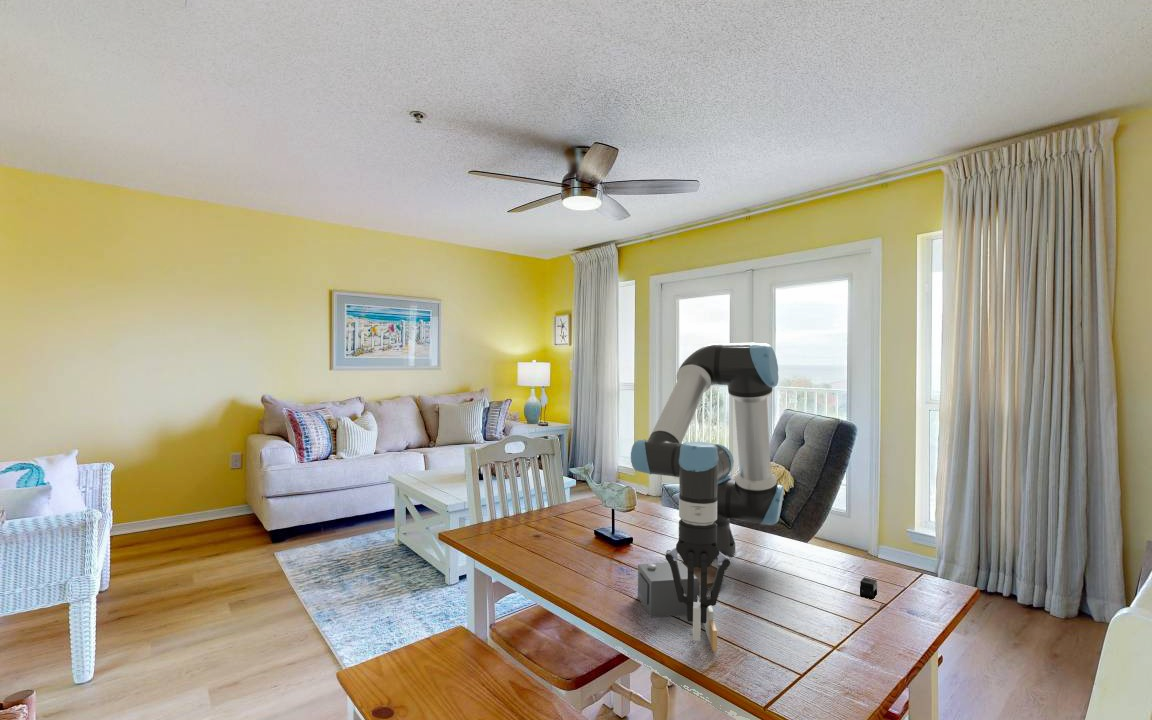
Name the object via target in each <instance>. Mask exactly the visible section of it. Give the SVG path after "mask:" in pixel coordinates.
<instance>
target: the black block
mask: <svg viewBox="0 0 1152 720" xmlns="http://www.w3.org/2000/svg"><path fill="white" fill-rule="evenodd" d="M859 587H860V597H865V598H869V599H874V598H875V596H876V595H877V591H878V579H873V578H869V577H865V576H864V577H862V579H861V581H860V585H859Z"/></svg>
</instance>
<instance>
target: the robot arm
mask: <svg viewBox="0 0 1152 720" xmlns="http://www.w3.org/2000/svg"><path fill="white" fill-rule="evenodd" d="M778 383H779V365H778V360H777V356H776V352H775V350H774V348H773V347H772V345H770V344H768V343H760V342H759V343H758V342H732V343H722V342H719V343H717V342H715V343H710V344H707V345H705V346H702V347H701V348H699V349H697V350H695V351H694V352H692V353H691V354H690V355H689V356H688V357H687V358H686V359H685V360H684V361H682V364H680V366H679V368H678V370H677V372H676V383H675V385H674V387H673V388H672V390H671V393H670V395H669V397H668V399H667V401H666V403H665V405H664V407H663V409H662V411H661V413H660V415H659V417H658V420H657V421H656V422H655V423H656V424H655V426H654V427H653V429H652V432H651V434H650V435H649V437H648V438H647V439H637V440H635V442H634V443H633V444H632V447H631V449H630V450H631V451H630V462H631V466H632V468H633V469H634V470H635V471H636V472H639V473H643V474H648V475H657V476H668V477H676V478H679V486H678V487H679V488H678V489H679V493H678V517H679V520H678V541H677V542H676V544H675V545H676V546H675V547H674V548H673V549H671V550H670V549H667V550H666V551H665V557H664V558H665V559H666V561H667V562H668V563H669V564H670V566H671V571H672V575H673V579H674V584H675V588H676V592H677V597H678V601H679V602H681V603H682V602H683V603H685V604H686V605H687V614H686V619H687V622H690V623H692V641H694V642H701V633H702V632H701V627H702V625H701V624H703V623H706V621H707V607H708V606H711V607H715V606H717V605H716V604H717V602H718V598H719V595H720V591H721V588H722V584H723V580H724V576H725V573H726V570H727V569H728V568H729V567H730V565H731V559H730V557H732V556H734V555H735V554H736V542H735V538H734V536H733V535H734V534H733V533H732V529H731V525H730V523H731V521H730V520H737V521H743V522H749V523H756V524H759V525H769V526H773V525H776V524H777V523H778V522H779V520H780V516H781V511H782V506H783V500H784V492H785V491H784V485H781V484H778V479H777V477H776V475H775V474H773V473H772V472H771V471H772V469H771V451H770V450H771V449H770V432H769V428H770V427H769V412H768V397H769V396H770V395H771V394H772V392H773V388H775V387H776V386H778ZM718 385H719V386H727V391H728V392H727V393H728V394H729V395H730V396H731V397H732V398H733V399H734V410H735V414H734V415H735V424H736V425H735V427H736V441H737V453H738V454H737V456H738V468H739V469H738V470H739V472H738V473H737V474H736V475H735V476H734V479H733V478H732V476H731V474H730V472H732V471H733V467H734V463H735V461H734V456H733V454H732V453H731V451H730V449H728V448H727V447H726V446H725V445H722V444H719V443H715V444H714V443H711V442H705V441H688V442H687V441H686V442H684V443H683V441H684V439H685V436H686V434H687V432H688V429H689V427H690V425H691V423H692V420H693V418H694V415H695V413H696V411H697V409H698V406H699V403H700V401H701V399H702V397H703V395H704V393H707V391H709V389H710V388H711V386H718ZM734 553H735V554H734ZM733 554H734V555H733ZM731 555H732V556H731ZM679 557H680V558H681V559H682V562H685V564H686V565H687V566H688V583H687V595H686V594H684V590H683V586H682V581H681V577H680V572H679V568H678V564H677V562H678V559H679ZM716 559H717V571H716V575H715V579H714V582H713V586H712V588H711V589H710V594H709V596H708V589H707V567H709V566H710V565H712V564H713V563H714V562H715V560H716ZM695 567H698V568H701V599H700V600H701V602H699V601H697V602H693V595H694V568H695Z"/></svg>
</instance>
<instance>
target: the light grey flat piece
mask: <svg viewBox="0 0 1152 720" xmlns="http://www.w3.org/2000/svg"><path fill="white" fill-rule="evenodd" d="M698 599H699V600H698V602H701V600H700V599H701V585H699V595H698ZM702 624H703V627H704V630H705V632H706V636H707V639H708V641H709V644H710V647H711V650H712V652H718V629H717V626H716V624H715V621H714V610H713V606H712V605H711V606H708V607H707V621H706V623H702Z"/></svg>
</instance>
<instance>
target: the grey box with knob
mask: <svg viewBox="0 0 1152 720" xmlns="http://www.w3.org/2000/svg"><path fill="white" fill-rule="evenodd" d="M682 562H683V561H677V564H678V568H679V572H680V577H681V581H682V586H683V590H684V594H686V595H687V583H688V568H687V567H686V566H685V565H684V564H683V563H682ZM699 585H700V583H699V580H698V577H697V576H696V575H695V574H694V595H693V602H698V596H699ZM637 599H638V600H639V601H640V603H641V604H642V606H643V607H644V609H645V610H646V612H647V614H648V615H649V616H650V617H651V618H655V617H670V616H681V615H682V616H683V615H687V605H686V604H685V603H683V602H682V603H681V602H679V601H678V597H677V592H676V588H675V584H674V579H673V575H672V571H671V566H670V564H669V563H668V561H667V562H656V563H655V562H654V563H651V562H650V563H639V564H637Z"/></svg>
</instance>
